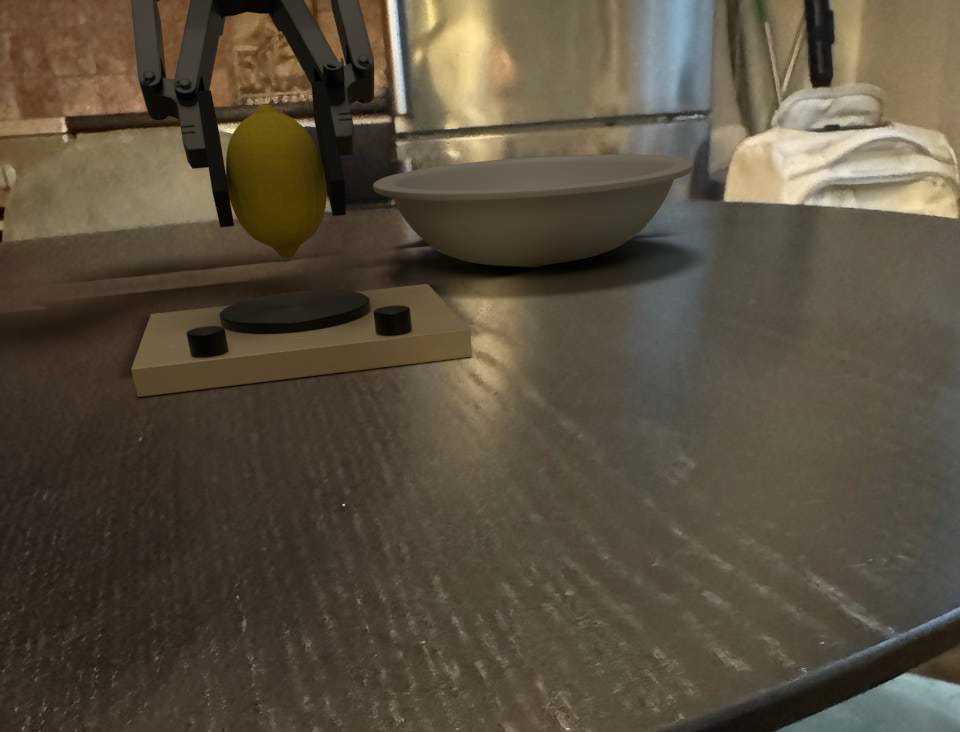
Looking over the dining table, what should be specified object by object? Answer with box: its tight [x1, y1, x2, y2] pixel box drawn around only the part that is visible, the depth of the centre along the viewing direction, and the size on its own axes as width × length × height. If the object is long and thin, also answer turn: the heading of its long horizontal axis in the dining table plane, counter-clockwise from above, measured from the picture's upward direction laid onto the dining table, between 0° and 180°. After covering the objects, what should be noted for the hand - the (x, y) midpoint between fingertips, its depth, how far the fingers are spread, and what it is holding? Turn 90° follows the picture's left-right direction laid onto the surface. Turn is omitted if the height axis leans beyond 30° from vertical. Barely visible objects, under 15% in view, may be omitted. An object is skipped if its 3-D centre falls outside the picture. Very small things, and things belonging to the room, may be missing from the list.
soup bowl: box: [372, 153, 694, 268], centre depth 76 cm, size 24×24×7 cm
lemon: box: [225, 103, 328, 259], centre depth 56 cm, size 6×6×8 cm
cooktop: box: [130, 283, 473, 398], centre depth 58 cm, size 14×18×3 cm
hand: (281, 203), depth 53 cm, fingers closed on lemon, 5 cm apart
